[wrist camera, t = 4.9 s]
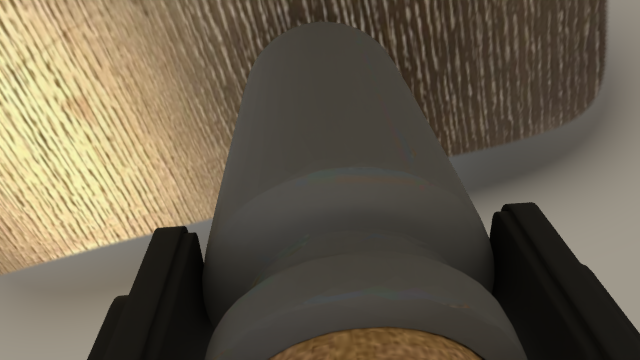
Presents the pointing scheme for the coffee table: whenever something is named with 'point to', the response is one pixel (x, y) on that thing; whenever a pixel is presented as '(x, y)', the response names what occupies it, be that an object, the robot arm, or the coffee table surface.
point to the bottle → (345, 219)
